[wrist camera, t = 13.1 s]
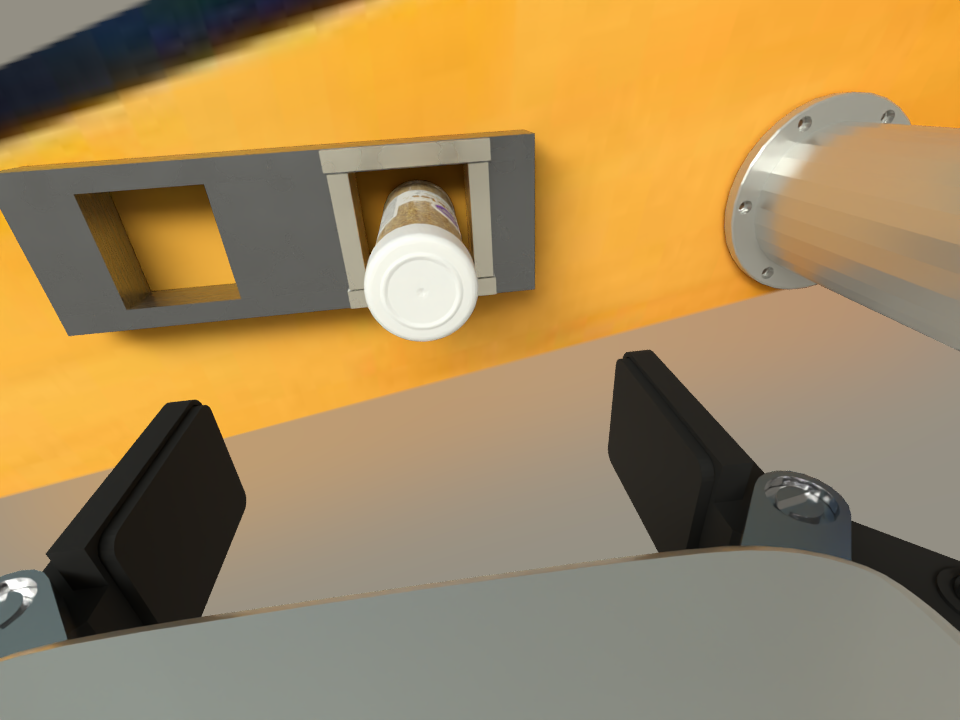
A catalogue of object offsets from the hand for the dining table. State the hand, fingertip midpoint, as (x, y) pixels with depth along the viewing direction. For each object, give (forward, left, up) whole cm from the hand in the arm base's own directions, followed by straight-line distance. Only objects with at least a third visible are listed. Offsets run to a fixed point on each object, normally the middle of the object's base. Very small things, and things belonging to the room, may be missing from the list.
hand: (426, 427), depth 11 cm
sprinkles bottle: (0, 0, -22) cm, 22 cm away
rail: (+7, 0, -22) cm, 23 cm away
